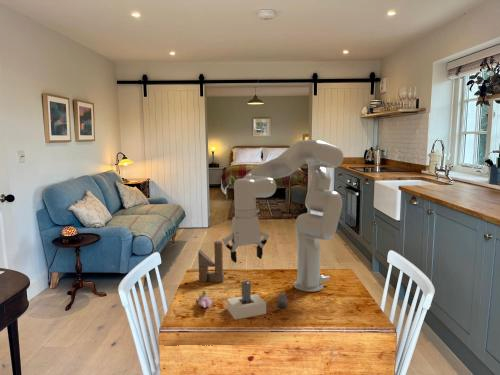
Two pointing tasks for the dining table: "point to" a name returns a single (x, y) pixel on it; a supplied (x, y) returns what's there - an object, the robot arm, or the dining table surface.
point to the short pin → (282, 301)
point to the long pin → (246, 292)
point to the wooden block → (211, 265)
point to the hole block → (246, 307)
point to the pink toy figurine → (204, 300)
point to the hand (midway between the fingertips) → (246, 259)
